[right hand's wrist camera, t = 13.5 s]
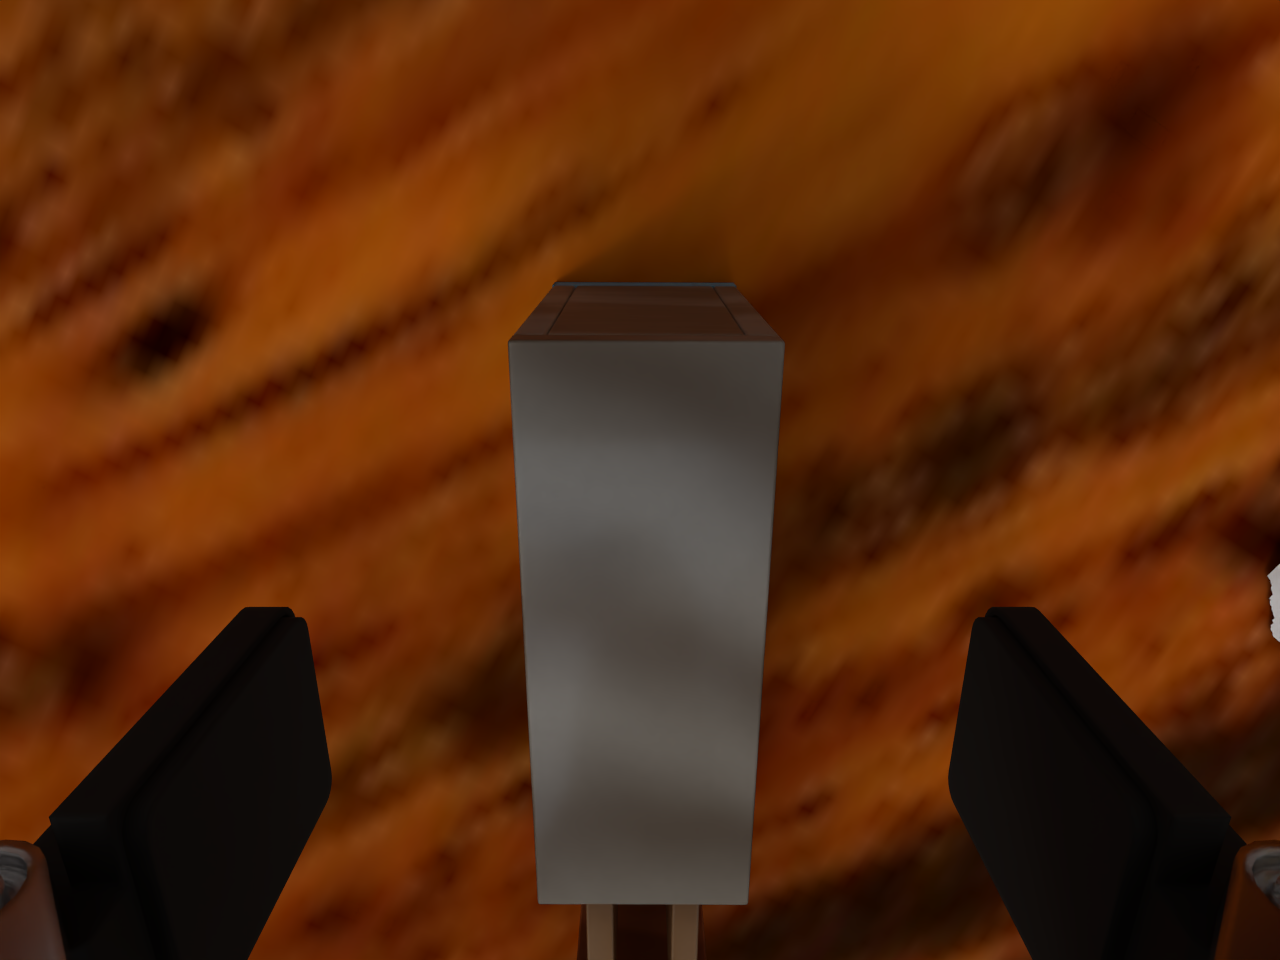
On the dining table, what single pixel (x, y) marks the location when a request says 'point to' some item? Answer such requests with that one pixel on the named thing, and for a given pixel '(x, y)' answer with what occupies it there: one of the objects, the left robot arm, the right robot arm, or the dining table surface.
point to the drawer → (641, 932)
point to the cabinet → (644, 583)
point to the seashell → (1275, 601)
